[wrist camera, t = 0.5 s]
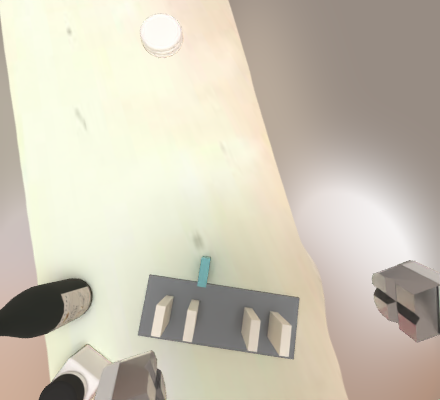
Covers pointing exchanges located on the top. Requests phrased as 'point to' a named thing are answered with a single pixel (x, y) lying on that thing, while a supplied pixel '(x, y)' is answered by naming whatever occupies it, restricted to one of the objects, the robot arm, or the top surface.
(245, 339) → the ivory domino
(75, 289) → the wine bottle
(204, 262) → the teal domino
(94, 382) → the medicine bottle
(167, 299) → the ivory domino
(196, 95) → the top surface
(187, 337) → the ivory domino
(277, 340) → the ivory domino
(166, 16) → the coaster
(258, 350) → the slate mat
